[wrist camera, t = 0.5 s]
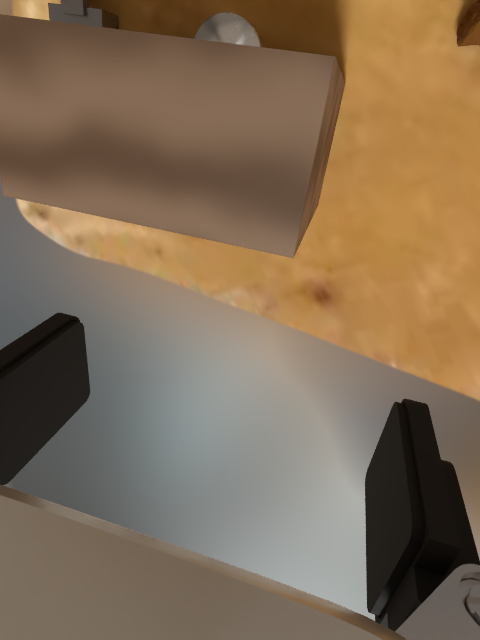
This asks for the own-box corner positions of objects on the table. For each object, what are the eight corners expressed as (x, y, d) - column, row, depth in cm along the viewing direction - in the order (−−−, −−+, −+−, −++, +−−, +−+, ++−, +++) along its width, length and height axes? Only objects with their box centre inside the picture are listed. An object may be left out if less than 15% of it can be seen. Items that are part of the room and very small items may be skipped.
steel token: (200, 12, 33) (193, 8, 31) (270, 20, 32) (266, 16, 30) (195, 95, 36) (188, 94, 34) (258, 104, 35) (254, 104, 33)
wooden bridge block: (123, 52, 35) (-27, 11, 22) (345, 82, 32) (335, 56, 18) (124, 168, 40) (3, 195, 26) (317, 205, 37) (293, 258, 23)
